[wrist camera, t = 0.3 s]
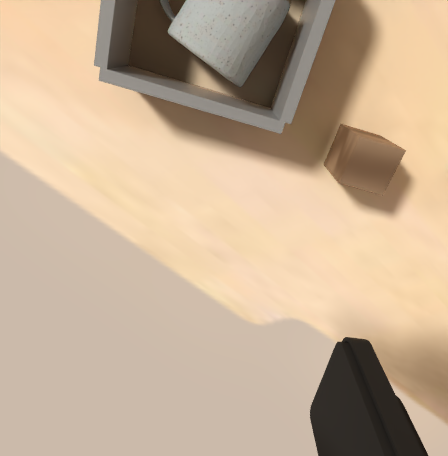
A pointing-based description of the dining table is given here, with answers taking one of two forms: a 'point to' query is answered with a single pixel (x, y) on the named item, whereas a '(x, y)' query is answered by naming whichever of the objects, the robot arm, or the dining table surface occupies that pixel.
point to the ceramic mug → (227, 32)
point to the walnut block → (363, 159)
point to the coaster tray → (198, 96)
